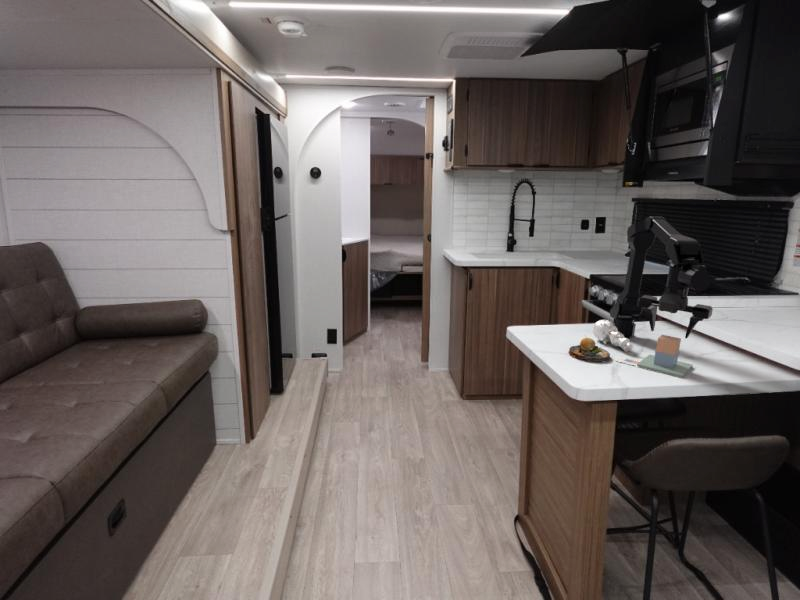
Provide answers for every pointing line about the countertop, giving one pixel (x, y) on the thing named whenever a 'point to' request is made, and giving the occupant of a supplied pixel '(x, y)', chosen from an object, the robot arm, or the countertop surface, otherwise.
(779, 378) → the countertop surface
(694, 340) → the countertop surface
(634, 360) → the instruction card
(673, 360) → the brick blue
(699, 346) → the countertop surface
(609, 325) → the figurine
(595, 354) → the food on plate
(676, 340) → the brick orange
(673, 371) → the build plate
